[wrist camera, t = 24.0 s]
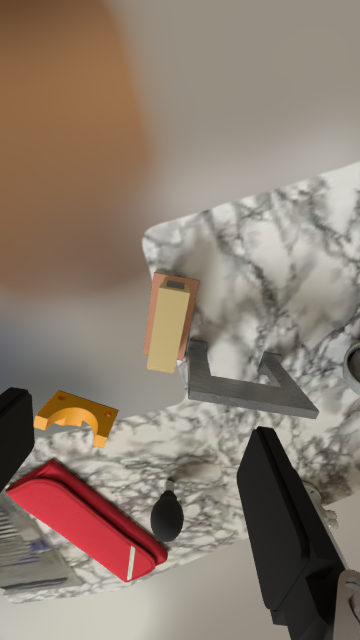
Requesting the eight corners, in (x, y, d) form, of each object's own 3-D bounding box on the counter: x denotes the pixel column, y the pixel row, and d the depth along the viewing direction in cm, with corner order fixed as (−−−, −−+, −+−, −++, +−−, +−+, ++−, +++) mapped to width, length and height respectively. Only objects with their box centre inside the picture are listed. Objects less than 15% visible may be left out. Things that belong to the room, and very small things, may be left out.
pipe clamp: (54, 406, 42) (31, 434, 36) (58, 389, 40) (35, 415, 34) (112, 425, 43) (100, 455, 37) (118, 409, 42) (107, 437, 35)
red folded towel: (54, 455, 46) (44, 472, 43) (169, 547, 56) (168, 567, 53) (9, 484, 50) (-4, 502, 46) (126, 566, 60) (122, 586, 56)
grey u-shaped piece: (280, 354, 37) (323, 402, 25) (273, 374, 38) (311, 428, 27) (190, 339, 36) (192, 381, 25) (185, 359, 37) (186, 408, 26)
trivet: (199, 280, 33) (199, 281, 32) (183, 359, 37) (183, 360, 37) (154, 272, 33) (153, 272, 32) (143, 352, 37) (143, 354, 37)
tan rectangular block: (189, 282, 32) (190, 289, 27) (175, 353, 36) (173, 373, 31) (163, 277, 32) (159, 283, 27) (152, 349, 36) (146, 368, 31)
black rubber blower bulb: (150, 484, 48) (142, 543, 38) (163, 467, 46) (157, 523, 37) (175, 494, 49) (173, 554, 39) (189, 477, 47) (189, 535, 37)
